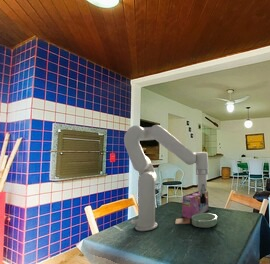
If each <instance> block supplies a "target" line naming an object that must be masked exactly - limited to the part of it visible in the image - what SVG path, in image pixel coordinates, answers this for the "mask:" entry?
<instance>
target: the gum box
mask: <svg viewBox="0 0 270 264" xmlns="http://www.w3.org/2000/svg"><path fill="white" fill-rule="evenodd" d="M205 196H206V197H208V198H209V190H208V191H206V192H205ZM198 197H200V192H199V191H198V190H196V191H194V192H192V193H188V194H185V195H182V197H181V198H182V199H181V201H182V202H181V207H182V208H181V209H182V211H181V212H182V213H181V214H182V215H181V216H182V218H190V220H192V216H193V215H194V214H198V213H206V212H208V211H209V209H210V208H209V202H208V203H205V204H201V203H199V204H198Z"/></svg>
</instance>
